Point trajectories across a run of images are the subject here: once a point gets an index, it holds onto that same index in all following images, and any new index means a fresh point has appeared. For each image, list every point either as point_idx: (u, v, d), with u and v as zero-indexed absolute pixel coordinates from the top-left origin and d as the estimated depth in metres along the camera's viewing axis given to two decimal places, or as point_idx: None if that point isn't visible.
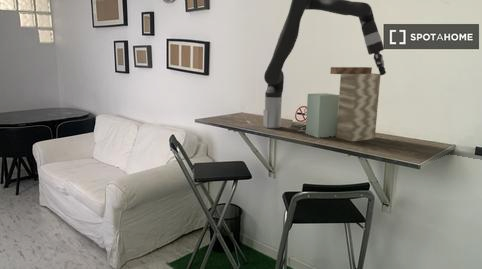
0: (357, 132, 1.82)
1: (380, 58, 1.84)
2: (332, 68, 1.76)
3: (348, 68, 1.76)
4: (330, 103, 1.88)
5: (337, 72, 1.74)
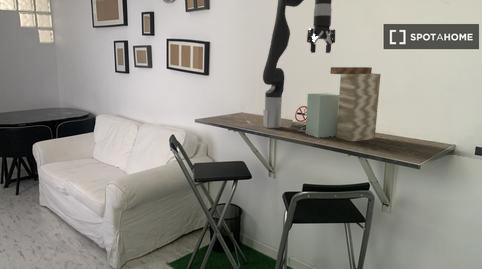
0: (357, 132, 1.82)
1: (318, 34, 1.66)
2: (332, 68, 1.76)
3: (348, 68, 1.76)
4: (330, 103, 1.88)
5: (337, 72, 1.74)
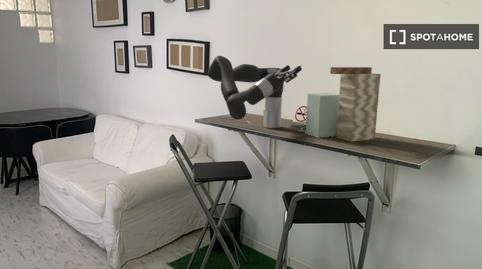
0: (357, 132, 1.82)
1: (284, 74, 1.60)
2: (332, 68, 1.76)
3: (348, 68, 1.76)
4: (330, 103, 1.88)
5: (337, 72, 1.74)
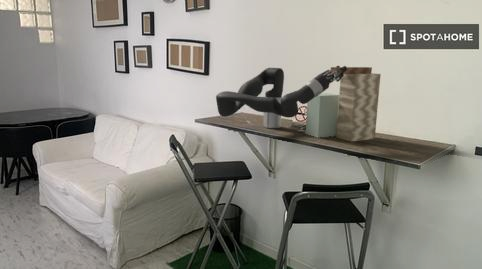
0: (357, 132, 1.82)
1: (332, 74, 1.72)
2: (332, 68, 1.76)
3: (348, 68, 1.76)
4: (330, 103, 1.88)
5: None
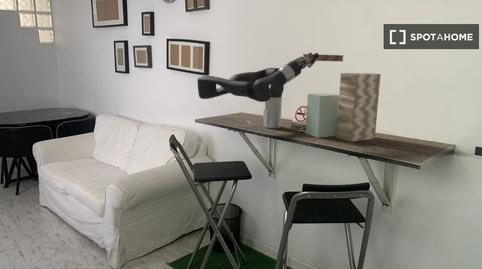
0: (357, 132, 1.82)
1: (304, 61, 1.77)
2: (304, 54, 1.81)
3: (320, 55, 1.82)
4: (330, 103, 1.88)
5: (309, 59, 1.79)
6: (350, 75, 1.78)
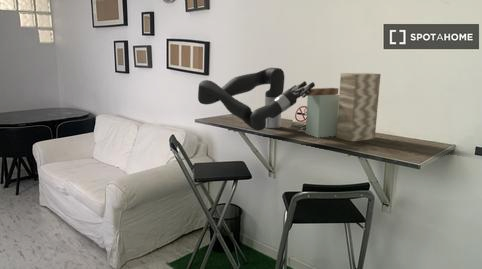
0: (357, 132, 1.82)
1: (299, 90, 1.81)
2: None
3: (315, 90, 1.86)
4: (330, 103, 1.88)
5: None
6: (350, 75, 1.78)
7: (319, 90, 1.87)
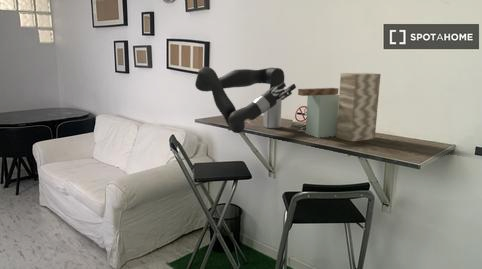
0: (357, 132, 1.82)
1: (279, 92, 1.76)
2: (299, 89, 1.85)
3: (315, 90, 1.86)
4: (330, 103, 1.88)
5: (304, 94, 1.83)
6: (350, 75, 1.78)
7: (319, 90, 1.87)
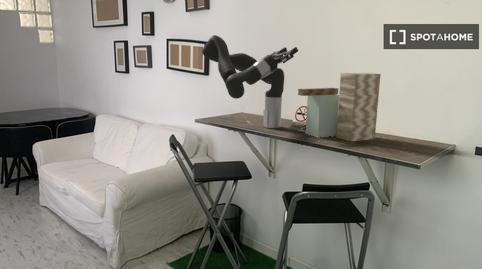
0: (357, 132, 1.82)
1: (281, 55, 1.66)
2: (299, 89, 1.85)
3: (315, 90, 1.86)
4: (330, 103, 1.88)
5: (304, 94, 1.83)
6: (350, 75, 1.78)
7: (319, 90, 1.87)
